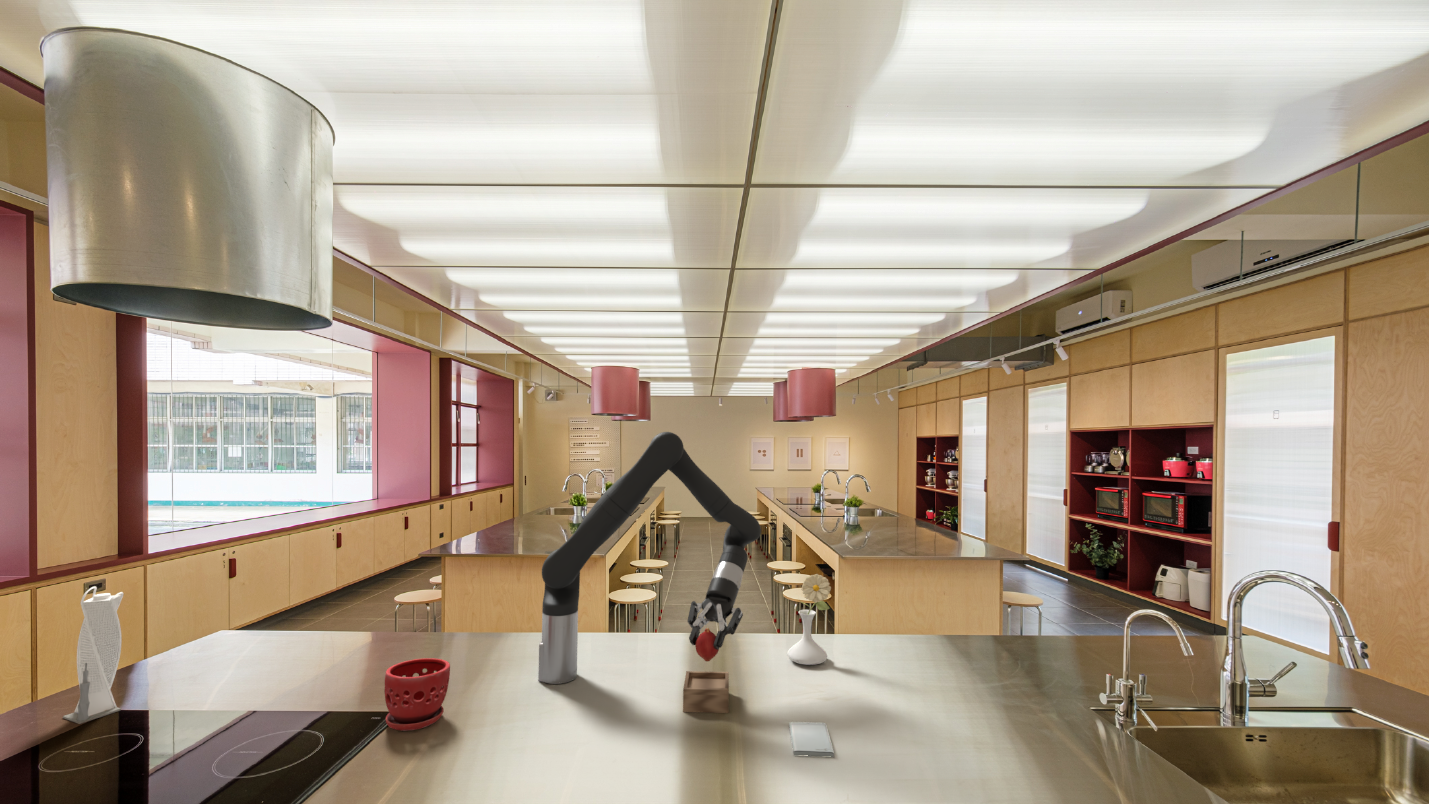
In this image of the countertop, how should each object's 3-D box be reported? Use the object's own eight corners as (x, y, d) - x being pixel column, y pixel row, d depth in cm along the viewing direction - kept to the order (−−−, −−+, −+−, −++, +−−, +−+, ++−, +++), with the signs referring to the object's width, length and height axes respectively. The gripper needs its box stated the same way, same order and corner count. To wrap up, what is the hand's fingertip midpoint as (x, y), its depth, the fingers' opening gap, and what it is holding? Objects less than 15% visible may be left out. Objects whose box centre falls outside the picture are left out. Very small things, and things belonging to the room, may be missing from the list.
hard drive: (834, 752, 121) (826, 722, 133) (793, 750, 121) (789, 720, 134) (834, 760, 121) (826, 729, 133) (793, 759, 121) (789, 728, 133)
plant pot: (439, 733, 129) (441, 676, 129) (373, 737, 127) (375, 679, 127) (455, 706, 142) (456, 654, 142) (395, 709, 140) (397, 657, 140)
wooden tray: (682, 712, 140) (683, 689, 140) (686, 692, 150) (686, 671, 150) (728, 712, 139) (728, 689, 140) (728, 693, 150) (728, 671, 150)
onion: (694, 657, 148) (694, 624, 148) (718, 656, 149) (718, 623, 149) (696, 666, 142) (696, 632, 143) (720, 665, 143) (720, 631, 143)
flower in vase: (779, 662, 170) (780, 573, 171) (798, 651, 179) (798, 566, 181) (822, 673, 163) (822, 580, 164) (839, 660, 172) (839, 572, 173)
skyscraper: (59, 716, 135) (67, 590, 136) (106, 702, 142) (113, 582, 144) (79, 724, 132) (87, 594, 133) (126, 708, 139) (133, 585, 141)
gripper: (695, 573, 156) (672, 633, 145) (746, 579, 150) (726, 642, 139) (705, 588, 161) (683, 648, 149) (755, 595, 154) (735, 658, 143)
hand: (704, 645), depth 144 cm, fingers closed on onion, 5 cm apart
